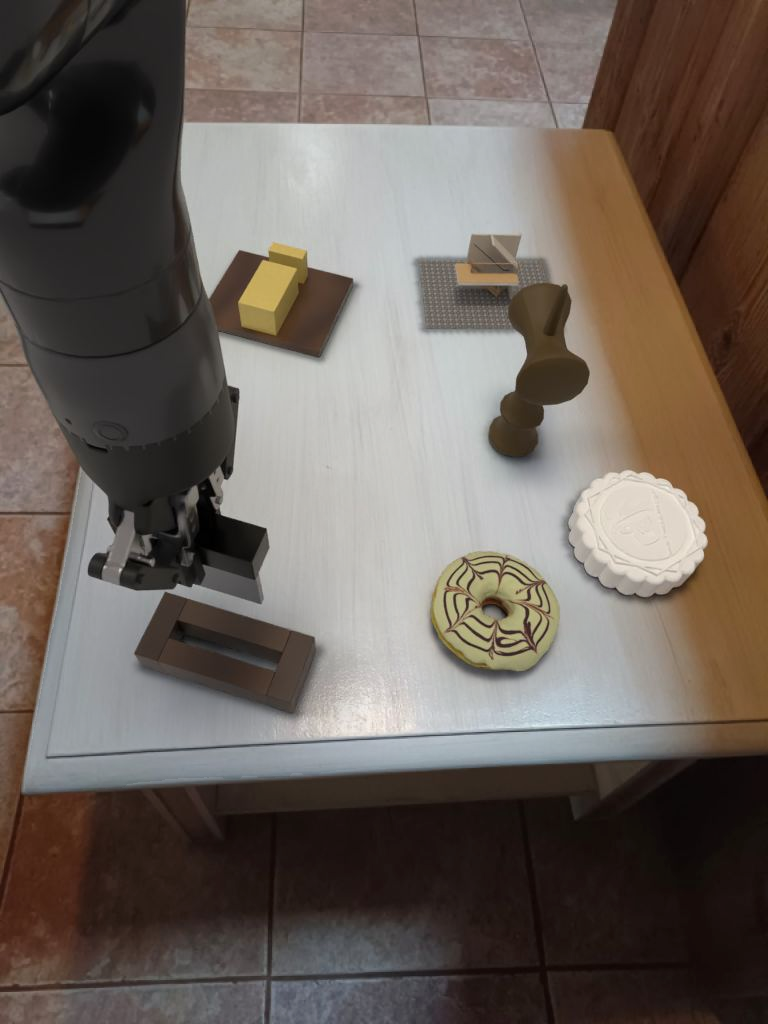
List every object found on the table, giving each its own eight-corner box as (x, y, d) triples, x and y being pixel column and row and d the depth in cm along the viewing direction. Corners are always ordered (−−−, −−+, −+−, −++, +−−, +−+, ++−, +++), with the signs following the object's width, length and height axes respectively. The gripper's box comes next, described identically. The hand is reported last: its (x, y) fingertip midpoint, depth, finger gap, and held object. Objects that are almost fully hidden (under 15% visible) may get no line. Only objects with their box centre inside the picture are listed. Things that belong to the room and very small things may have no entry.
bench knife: (138, 581, 49) (106, 519, 42) (154, 551, 50) (125, 486, 43) (263, 619, 48) (251, 562, 41) (276, 588, 50) (267, 528, 42)
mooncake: (557, 486, 71) (567, 465, 68) (676, 486, 72) (691, 465, 68) (579, 599, 64) (591, 581, 61) (709, 597, 65) (727, 580, 62)
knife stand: (142, 666, 59) (133, 653, 56) (171, 606, 62) (164, 591, 59) (292, 713, 58) (290, 702, 55) (315, 650, 61) (315, 637, 58)
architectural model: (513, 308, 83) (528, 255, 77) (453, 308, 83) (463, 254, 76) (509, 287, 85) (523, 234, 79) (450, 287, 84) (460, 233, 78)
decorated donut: (543, 693, 60) (554, 678, 57) (417, 660, 61) (421, 644, 57) (558, 582, 65) (569, 564, 62) (442, 554, 66) (447, 533, 63)
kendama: (486, 478, 71) (535, 328, 54) (478, 401, 76) (520, 242, 59) (547, 479, 71) (614, 330, 54) (535, 403, 76) (593, 245, 59)
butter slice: (270, 275, 82) (268, 250, 79) (275, 267, 83) (273, 241, 80) (303, 284, 82) (302, 258, 79) (308, 275, 83) (307, 250, 80)
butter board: (197, 325, 79) (196, 318, 78) (240, 256, 85) (239, 249, 84) (319, 357, 78) (319, 351, 77) (353, 285, 84) (353, 278, 83)
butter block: (241, 327, 78) (237, 302, 75) (265, 284, 81) (262, 259, 78) (276, 336, 78) (274, 311, 75) (298, 293, 81) (297, 268, 78)
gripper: (129, 248, 35) (188, 455, 50) (-39, 475, 28) (89, 638, 43) (275, 286, 34) (292, 485, 49) (142, 529, 27) (208, 676, 42)
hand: (197, 556), depth 46 cm, fingers closed on bench knife, 2 cm apart
